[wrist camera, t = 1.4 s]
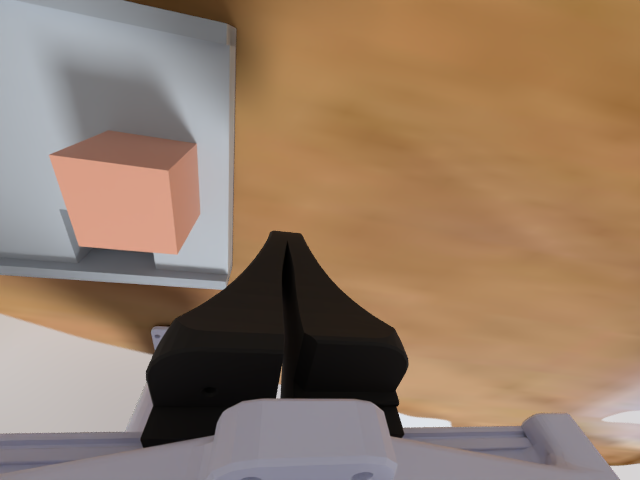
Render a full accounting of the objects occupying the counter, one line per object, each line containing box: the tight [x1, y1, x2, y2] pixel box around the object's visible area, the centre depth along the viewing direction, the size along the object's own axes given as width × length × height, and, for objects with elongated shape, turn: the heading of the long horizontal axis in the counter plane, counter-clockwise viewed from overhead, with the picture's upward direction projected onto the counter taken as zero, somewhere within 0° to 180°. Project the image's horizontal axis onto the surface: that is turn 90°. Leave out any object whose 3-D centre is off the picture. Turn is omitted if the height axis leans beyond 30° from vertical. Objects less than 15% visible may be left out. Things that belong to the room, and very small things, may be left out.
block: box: [49, 130, 200, 255], centre depth 15 cm, size 4×4×4 cm
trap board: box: [0, 0, 237, 290], centre depth 16 cm, size 16×22×3 cm
